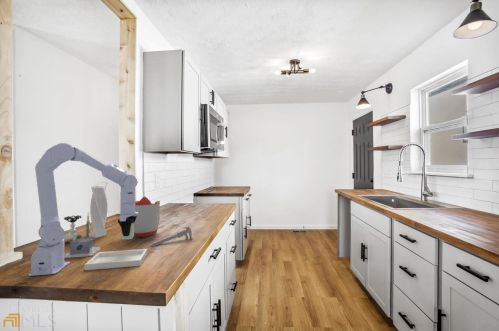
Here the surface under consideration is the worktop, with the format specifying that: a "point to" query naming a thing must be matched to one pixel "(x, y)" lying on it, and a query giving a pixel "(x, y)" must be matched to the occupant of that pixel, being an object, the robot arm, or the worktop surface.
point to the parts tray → (116, 259)
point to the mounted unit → (82, 248)
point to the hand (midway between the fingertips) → (127, 234)
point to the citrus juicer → (146, 217)
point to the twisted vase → (97, 212)
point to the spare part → (129, 234)
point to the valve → (72, 229)
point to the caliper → (174, 236)
